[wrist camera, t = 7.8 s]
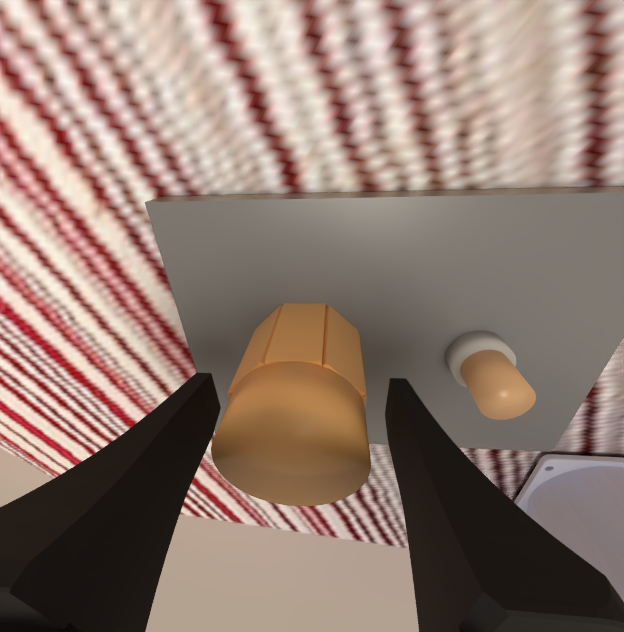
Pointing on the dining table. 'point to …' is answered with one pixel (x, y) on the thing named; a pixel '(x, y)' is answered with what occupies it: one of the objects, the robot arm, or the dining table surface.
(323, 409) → the wire cap
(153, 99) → the dining table surface
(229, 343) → the board
